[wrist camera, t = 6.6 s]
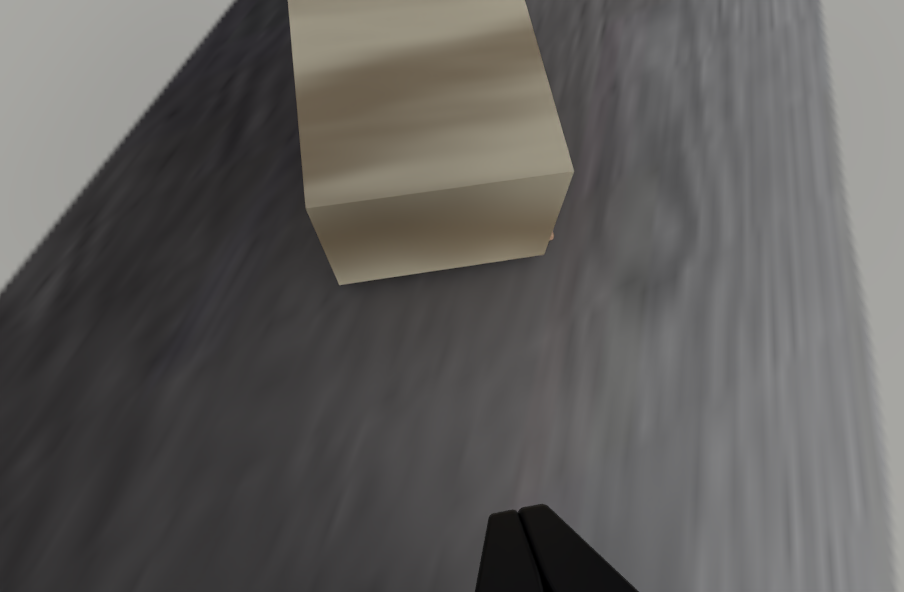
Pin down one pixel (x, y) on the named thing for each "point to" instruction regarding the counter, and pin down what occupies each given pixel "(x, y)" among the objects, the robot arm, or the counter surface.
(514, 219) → the birch block
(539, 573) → the robot arm
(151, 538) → the counter surface
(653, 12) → the counter surface
